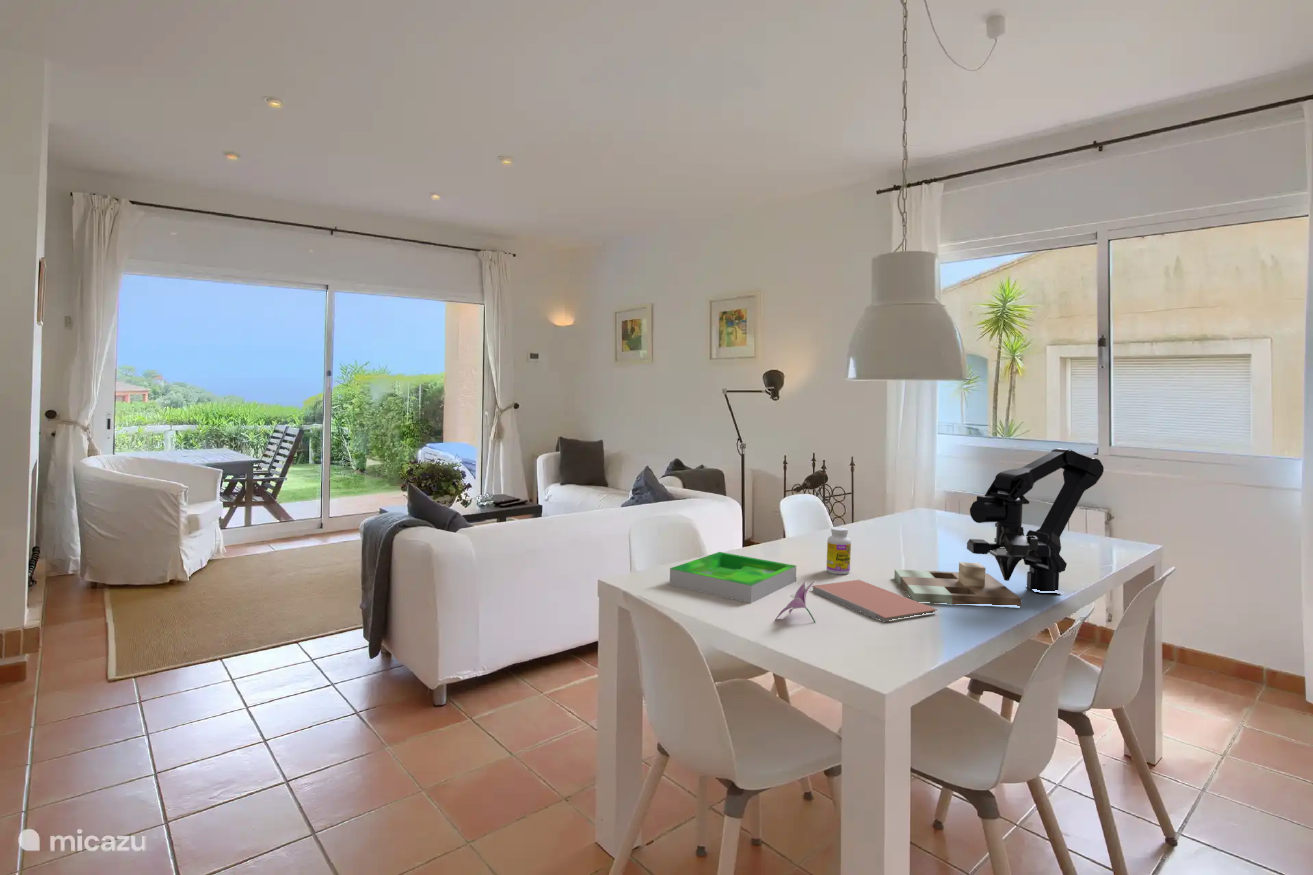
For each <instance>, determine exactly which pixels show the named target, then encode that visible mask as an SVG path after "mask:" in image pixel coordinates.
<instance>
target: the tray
mask: <svg viewBox="0 0 1313 875" xmlns="http://www.w3.org/2000/svg"><path fill="white" fill-rule="evenodd" d="M795 582H796V583H797V565H794V564H789V563H783V562H777V561H772V560H766V559H761V558H756V557H751V556H743V555H739V554H733V553H727V552H721V551H718V552H715V553H712V554H709V555H706V556H703V557H699V558H698V559H694V560H691V561H687V562H685V563H682V564H679V565H676V566H673V567H670V568H669V586H673V587H676V588H677V587H678V588H681V587H682V588H681V589H687V590H690V589H691V591H695V592H699V593H704V594H708V593H709V594H708V595H712V596H717V595H718V596H717V597H721V596H722V598H727V599H730V598H732V600H734V599H735V601H739V600H740V602H743V603H744V602H745V603H748V602H749V604H753V603H755V602H757V601H759V600H761V599H763V598H765V597H767V596H769V595H771V594H774V593H775V592H778V591H779V590H781V589H784V588H786V587H788V586H790V585H793V584H794V583H795Z"/></svg>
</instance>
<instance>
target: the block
mask: <svg viewBox="0 0 1313 875" xmlns="http://www.w3.org/2000/svg"><path fill="white" fill-rule="evenodd" d="M958 572H959V578H958V581H959V582H960V583H962V584H963V585H964V586H976V587H985V574H986V567H985V566H984V565H982V564H981V563H980V562H966V561H965V562H962V561H960V562H958Z"/></svg>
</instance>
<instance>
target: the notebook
mask: <svg viewBox="0 0 1313 875" xmlns="http://www.w3.org/2000/svg"><path fill="white" fill-rule="evenodd" d="M811 587H812V592H814V594H815V595H818V596H819V597H821V598H825V599H827V600H828V601H832V602H833V603H836V604H837V605H840V606H843V607H845V608H847V609H849V610H851V611H853V610H854V612H855V613H856V612H857V613H859V614H860V615H862V616H865V617H867V618H871V620H874V619H875V618H877V619H880V620H881V621H880V622H882V621H889V620H892V619H898V618H904V617H910V616H914V615H922V614H923V613H924V614H926V613H933V612H935V613H936V612H937V611H938V609H937V608H934V607H933V606H930V605H928V604H923V603H919V602H916V601H914V600H911V598H910V597H909V598H908V597H905V596H902V595H900V594H898V593H895V592H894V591H893V592H892V591H890V590H887V589H885V588H883V587H879V586H877V585H874V584H871V583H869V582H866V581H863V580H861V579H855V580H847V581H845V580H844V581H840V582H839V581H838V582H832V583H831V582H830V583H824V584H815V585H814V584H813V585H811ZM852 608H853V609H852ZM860 611H861V612H860ZM864 613H865V614H864ZM868 615H869V616H868ZM870 616H871V617H870ZM873 617H874V618H873ZM877 619H875V620H877Z"/></svg>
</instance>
